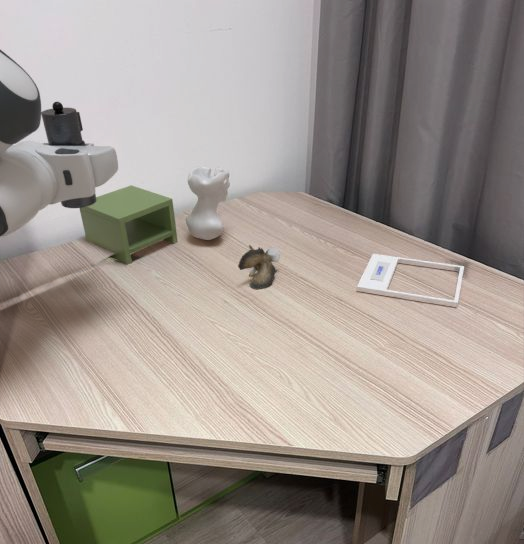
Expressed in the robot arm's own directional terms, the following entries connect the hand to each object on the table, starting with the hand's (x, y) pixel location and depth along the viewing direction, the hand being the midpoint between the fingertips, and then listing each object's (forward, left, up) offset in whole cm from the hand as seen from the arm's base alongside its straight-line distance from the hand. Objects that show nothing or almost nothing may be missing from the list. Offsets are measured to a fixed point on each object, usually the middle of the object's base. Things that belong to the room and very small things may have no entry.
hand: (69, 148), depth 90 cm
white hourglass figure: (+2, +29, -26) cm, 39 cm away
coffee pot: (-1, +1, -9) cm, 9 cm away
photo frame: (+47, +38, -26) cm, 66 cm away
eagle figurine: (+23, +21, -26) cm, 41 cm away
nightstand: (-9, +15, -26) cm, 31 cm away
